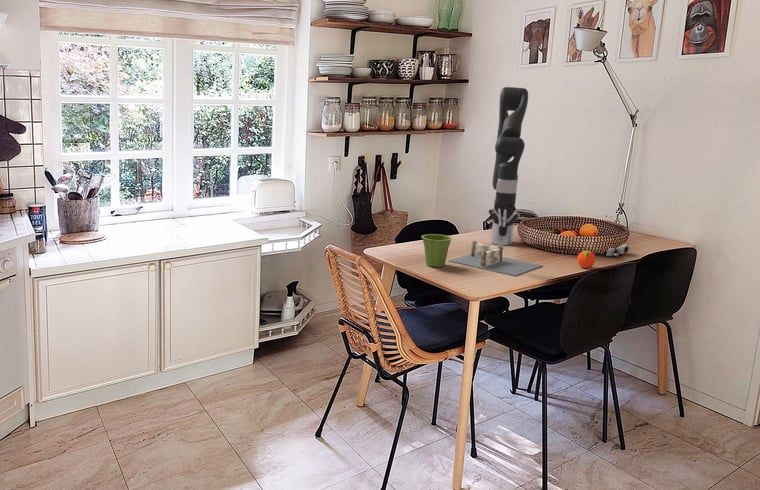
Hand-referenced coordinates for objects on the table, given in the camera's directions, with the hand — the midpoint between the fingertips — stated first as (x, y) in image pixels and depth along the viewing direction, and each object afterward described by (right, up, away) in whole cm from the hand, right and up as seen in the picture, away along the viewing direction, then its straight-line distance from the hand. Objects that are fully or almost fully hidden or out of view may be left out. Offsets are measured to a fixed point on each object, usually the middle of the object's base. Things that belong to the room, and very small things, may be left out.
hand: (502, 235), depth 255 cm
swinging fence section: (-3, -11, +9) cm, 14 cm away
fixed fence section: (-4, -9, +17) cm, 20 cm away
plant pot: (-25, -12, +5) cm, 28 cm away
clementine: (+35, -13, +10) cm, 38 cm away
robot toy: (+54, -8, +36) cm, 65 cm away
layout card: (-1, -11, +11) cm, 16 cm away
